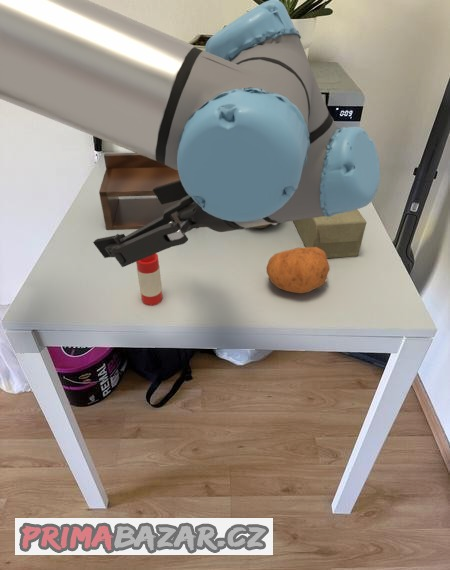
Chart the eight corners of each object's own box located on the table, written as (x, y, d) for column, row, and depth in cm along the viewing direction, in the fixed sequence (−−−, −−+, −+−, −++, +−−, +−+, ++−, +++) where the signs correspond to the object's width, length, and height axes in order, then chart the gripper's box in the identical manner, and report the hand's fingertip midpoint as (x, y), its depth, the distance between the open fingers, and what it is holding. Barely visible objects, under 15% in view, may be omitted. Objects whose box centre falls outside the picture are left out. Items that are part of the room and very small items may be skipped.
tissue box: (288, 212, 101) (296, 145, 91) (329, 209, 102) (341, 143, 92) (311, 260, 87) (323, 187, 77) (359, 257, 88) (377, 184, 78)
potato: (330, 303, 77) (337, 269, 73) (266, 301, 78) (269, 267, 73) (322, 270, 84) (328, 238, 80) (263, 269, 85) (266, 236, 80)
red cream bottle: (140, 306, 76) (132, 252, 69) (142, 292, 79) (134, 239, 72) (162, 305, 77) (156, 251, 69) (163, 291, 79) (157, 238, 72)
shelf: (106, 229, 95) (96, 178, 87) (112, 202, 104) (104, 153, 96) (208, 226, 96) (207, 175, 88) (206, 199, 105) (205, 151, 98)
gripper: (197, 292, 45) (89, 296, 60) (297, 169, 59) (190, 196, 74) (158, 232, 42) (53, 252, 56) (274, 117, 56) (166, 156, 70)
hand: (131, 220), depth 65 cm, fingers open, 13 cm apart
